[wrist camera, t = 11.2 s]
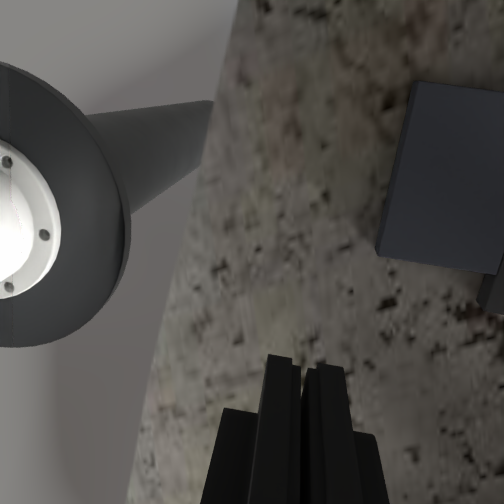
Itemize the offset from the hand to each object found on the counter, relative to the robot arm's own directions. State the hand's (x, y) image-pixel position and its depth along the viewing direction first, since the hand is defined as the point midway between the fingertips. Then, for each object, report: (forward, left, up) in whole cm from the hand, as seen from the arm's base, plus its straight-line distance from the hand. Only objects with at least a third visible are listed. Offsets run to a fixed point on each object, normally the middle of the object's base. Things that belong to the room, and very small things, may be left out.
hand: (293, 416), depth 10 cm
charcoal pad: (+10, +3, -20) cm, 23 cm away
